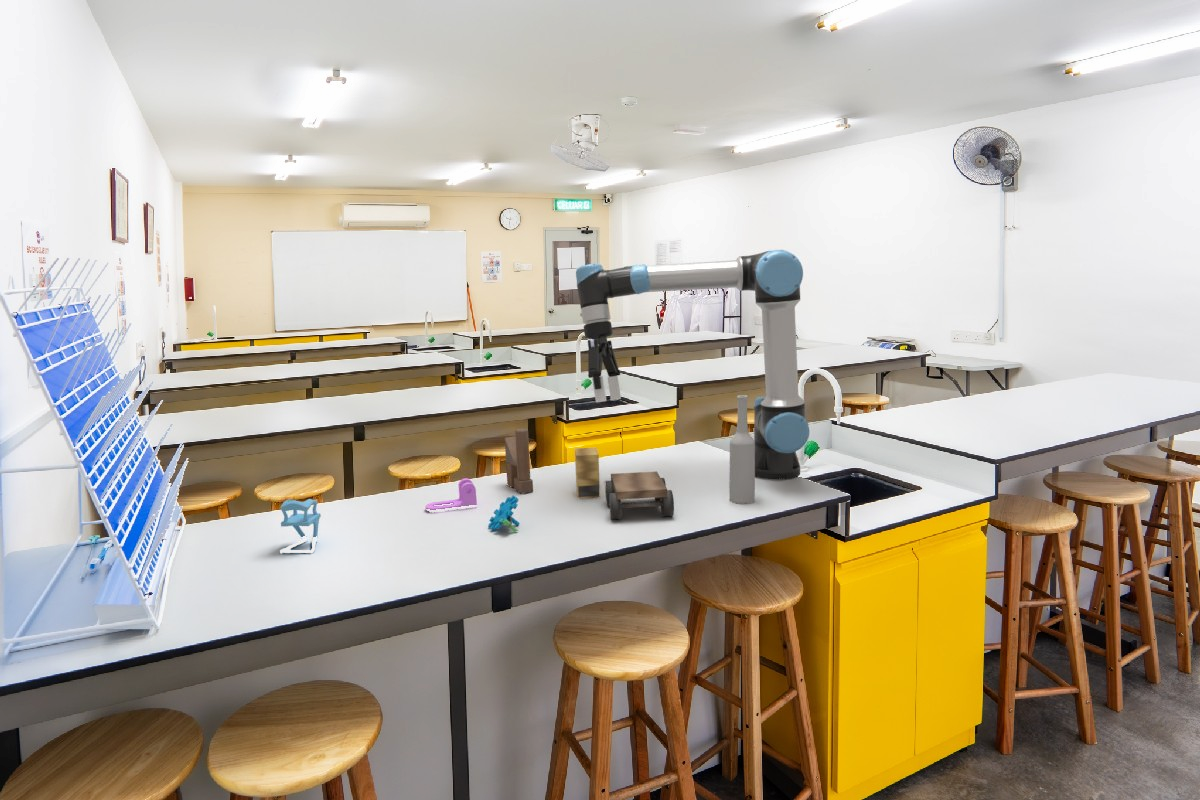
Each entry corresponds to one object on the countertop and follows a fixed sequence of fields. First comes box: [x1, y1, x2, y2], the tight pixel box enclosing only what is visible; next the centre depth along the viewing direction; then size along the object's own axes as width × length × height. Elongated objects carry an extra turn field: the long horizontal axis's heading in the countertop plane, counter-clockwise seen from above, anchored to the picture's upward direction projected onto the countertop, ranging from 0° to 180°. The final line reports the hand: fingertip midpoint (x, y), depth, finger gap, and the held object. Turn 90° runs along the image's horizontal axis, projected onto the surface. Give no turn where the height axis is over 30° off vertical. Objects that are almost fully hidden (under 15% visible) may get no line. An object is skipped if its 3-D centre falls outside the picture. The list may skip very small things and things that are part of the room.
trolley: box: [604, 471, 675, 520], centre depth 189 cm, size 15×17×8 cm
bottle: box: [728, 394, 756, 505], centre depth 192 cm, size 7×7×28 cm
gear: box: [488, 494, 520, 532], centre depth 179 cm, size 11×6×10 cm
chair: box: [280, 498, 322, 538], centre depth 170 cm, size 8×8×12 cm
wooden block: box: [504, 427, 534, 494], centre depth 209 cm, size 4×11×18 cm, turn 30°
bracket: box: [425, 477, 478, 510], centre depth 195 cm, size 13×6×7 cm, turn 109°
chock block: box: [574, 447, 601, 499], centre depth 203 cm, size 6×8×12 cm
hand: (608, 400), depth 197 cm, fingers open, 13 cm apart
